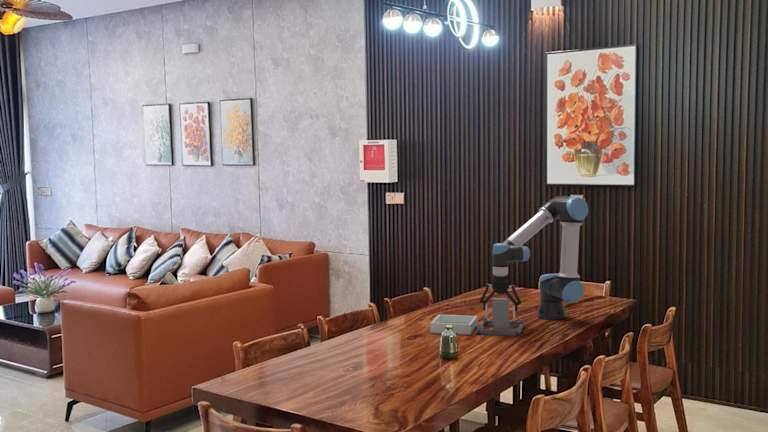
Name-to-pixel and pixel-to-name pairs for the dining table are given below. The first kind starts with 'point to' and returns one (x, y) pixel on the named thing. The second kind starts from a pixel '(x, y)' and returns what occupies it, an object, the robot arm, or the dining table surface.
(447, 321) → the bin
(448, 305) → the dining table surface
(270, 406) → the dining table surface
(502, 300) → the skincare box
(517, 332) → the frame
